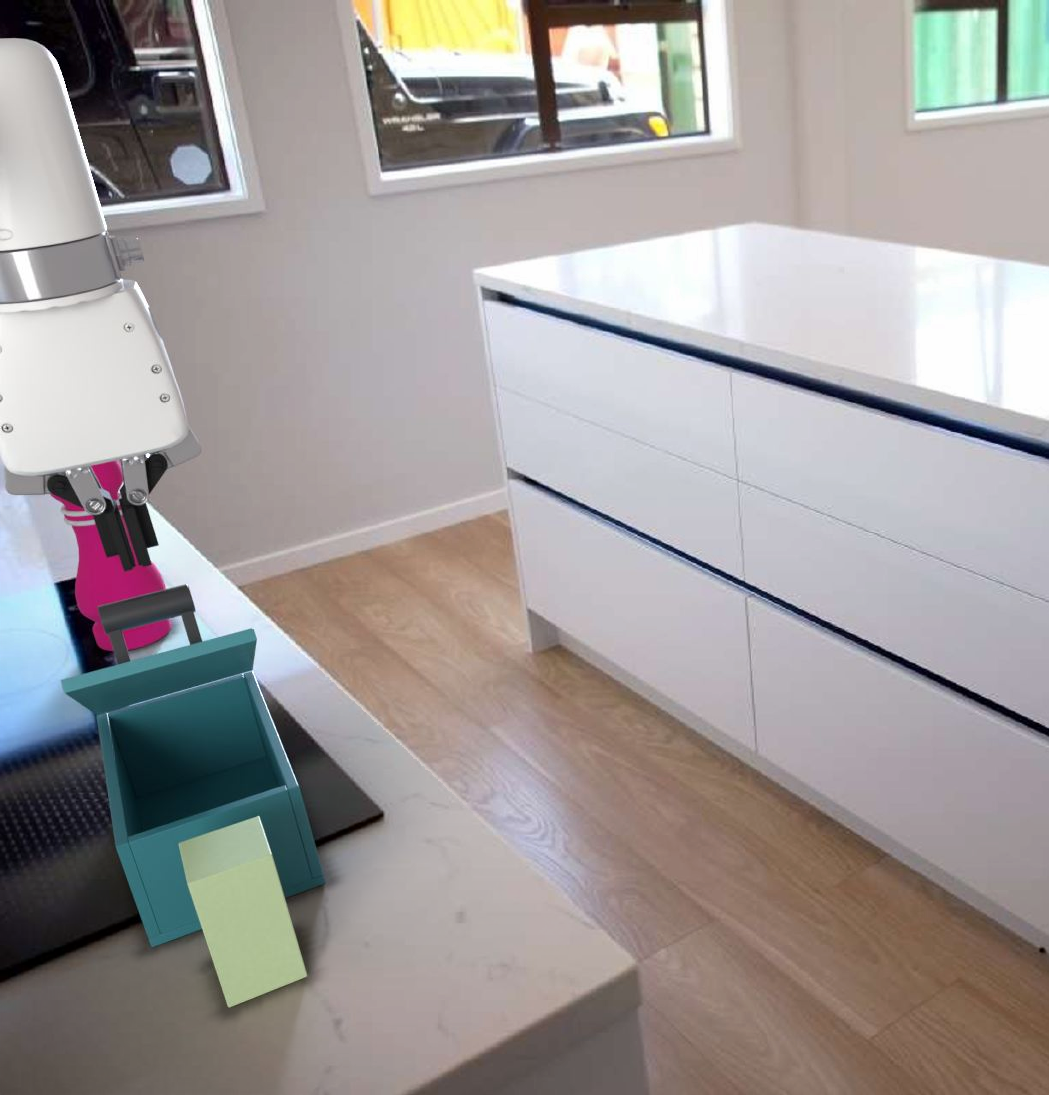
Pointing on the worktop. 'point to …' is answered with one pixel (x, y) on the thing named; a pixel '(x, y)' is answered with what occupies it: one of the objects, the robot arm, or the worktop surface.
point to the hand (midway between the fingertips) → (136, 560)
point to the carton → (242, 910)
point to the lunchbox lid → (158, 655)
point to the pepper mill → (110, 568)
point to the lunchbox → (199, 793)
